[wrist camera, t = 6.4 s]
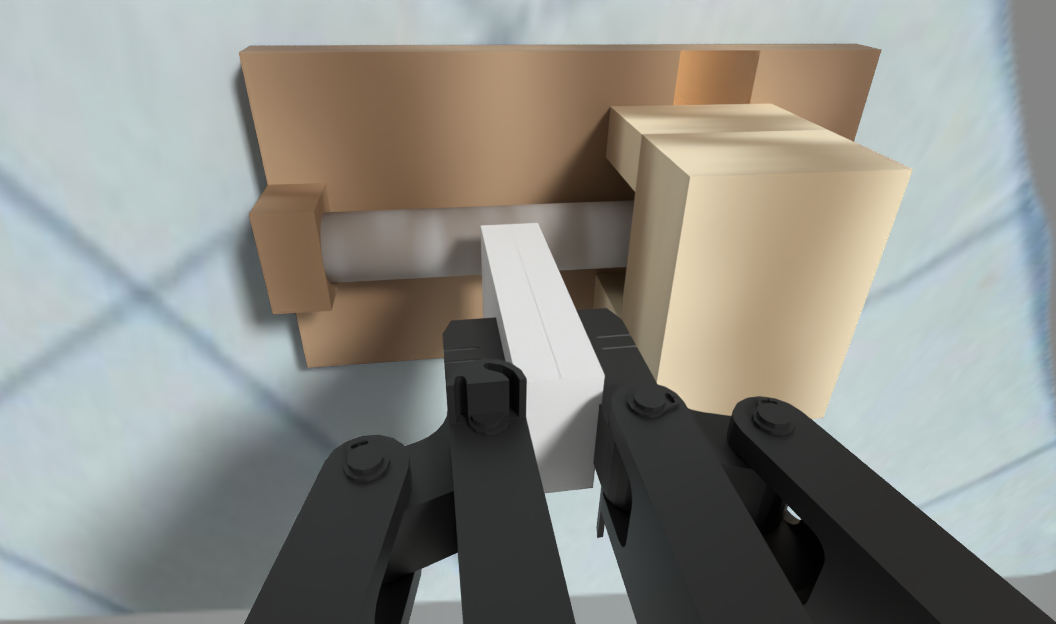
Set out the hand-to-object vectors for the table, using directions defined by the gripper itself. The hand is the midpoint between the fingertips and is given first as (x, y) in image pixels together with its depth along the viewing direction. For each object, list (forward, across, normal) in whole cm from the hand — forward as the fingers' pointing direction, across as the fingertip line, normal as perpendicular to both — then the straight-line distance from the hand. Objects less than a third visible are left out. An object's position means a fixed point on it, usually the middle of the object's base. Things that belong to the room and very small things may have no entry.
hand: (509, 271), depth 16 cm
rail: (+4, +2, 0) cm, 5 cm away
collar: (+3, +6, 0) cm, 7 cm away
